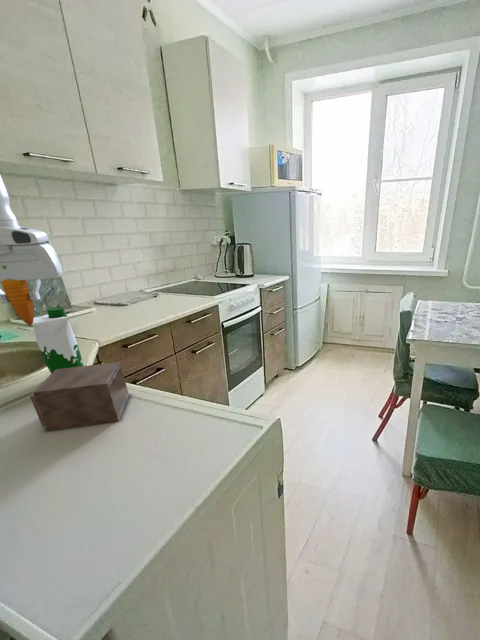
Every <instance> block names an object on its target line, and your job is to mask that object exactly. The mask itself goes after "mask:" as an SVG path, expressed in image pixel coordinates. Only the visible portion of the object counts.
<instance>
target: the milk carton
mask: <svg viewBox="0 0 480 640" xmlns="http://www.w3.org/2000/svg"><path fill="white" fill-rule="evenodd" d="M46 312H47V314H44V315H41V316H37V317H36V316H35V317H34V319H33V324H32V326H33V327H32V328H33V332H34V336H35V340H36V344H37V346H38V348H39V351H40V354H41V355H42V359H43V361H44V363H45V365H46V368H47V370H48V371H49V372H50V375H51V374H52V373H53V372H54V371H55V370H56V369H64V368H72V367H81V366H84V363H83V357H82V355H81V352H80V351H81V350H80V348H79V345H78V343H77V339H76V336H75V333H74V331H73V329H72V326H71V324H70V323H71V322H70V321H69V317H68V315H67V313H66V311H65V308H64V307H63V306H56V307H55V306H54V307H51V308H50V307H49V308H48V309H46Z"/></svg>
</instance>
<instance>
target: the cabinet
mask: <svg viewBox="0 0 480 640" xmlns="http://www.w3.org/2000/svg"><path fill="white" fill-rule="evenodd" d="M32 393H33V394H34V396H35V399H36V401H37V404H38V406H39V408H40V411H41V413H42V416H43V418H44V420H45V423H46V425H47V427H46V428H47V430H48V431H49V432H51V431H58V430H64V429H65V430H66V429H73V428H79V427H86V426H92V425H93V426H94V425H100V424H108V423H114V422H119V421H120V419H121V416H122V414H123V412H124V409H125V407H126V405H127V403H128V400H129V398H130V394H129V390H128V386H127V383H126V378H125V375H124V372H123V369H122V364H121V362H120V361H116V362H108V363H99V364H91V365H83V366H81V367H72V368H64V369H56V370H55V371H54V372H53V373H52V374H51V373H50V374H49V375H48V377H46V379H44V380H43V382H42V383H41V384H40V385H39V386H38V387H37V388H35V390H34V391H33V392H32Z"/></svg>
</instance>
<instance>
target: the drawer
mask: <svg viewBox="0 0 480 640" xmlns="http://www.w3.org/2000/svg"><path fill="white" fill-rule="evenodd" d="M29 398H30V400H31V403H32V405H33V407H34V410H35V412H36V415H37V417H38V419H39V422H40V424H41V427H42V428H47V425H46V423H45V420H44V418H43V416H42V413H41V411H40V408H39V406H38V404H37V401H36V399H35V396H34V394H33V392H32V393H31V394H30V395H29Z"/></svg>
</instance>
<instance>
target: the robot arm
mask: <svg viewBox="0 0 480 640" xmlns="http://www.w3.org/2000/svg"><path fill="white" fill-rule="evenodd" d="M48 241H49V237H48V234H47V233H46V232H44V231H42V230H37V229H34V228H29V227H25V226H20V225H19V222H18V220H17V217H16V215H15V214H14V212H13V210H12V208H11V205H10V196H9V194H8V190H7V188H6V185H5V183H4V180H3V178H2V175H1V174H0V283H2V281H4V280H6V279H13V280H19V281H21V280H26V281H29V284H30V285H31V286H32V291H30V292H29V293H28V294H29V296H30V299H31V300H32V301H39V300H41V295H40V292H39V291H40V288H41V285H42V281H41V280H46V279H47V280H48V279H49V280H50V279H58V278H60V277H61V276H62V275H63V272H64V270H63V267H62V263H61V261H60V258H59V256H58V254H57V251H56V250H55V248H54V247H53V246H52V245H51V244H50V243H48ZM2 265H4V266H5V267H6V269H4V268H2V267H1V266H2ZM0 303H2V304H4V303H10V302H9V299H8V297H7V295H6V293H5V291H4V290H2V289H1V288H0Z"/></svg>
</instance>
